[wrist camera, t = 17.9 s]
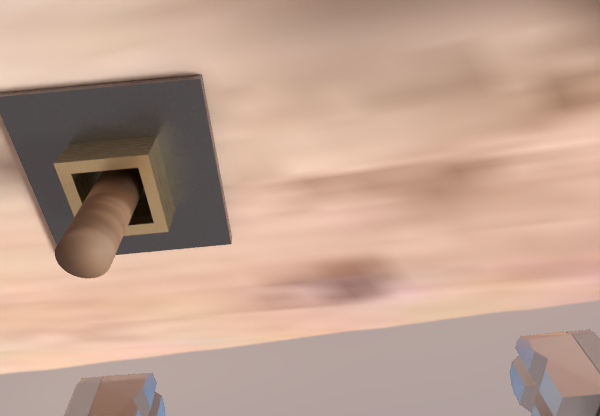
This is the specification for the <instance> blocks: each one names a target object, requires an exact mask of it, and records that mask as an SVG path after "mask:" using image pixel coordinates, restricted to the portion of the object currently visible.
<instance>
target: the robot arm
mask: <svg viewBox="0 0 600 416" xmlns="http://www.w3.org/2000/svg"><path fill="white" fill-rule="evenodd" d="M515 348H516V350H517V352H518V354H519V356H518V357H517V358H516V359H514V360H513V361H512V365H511V369H510V376H511V384H512V387H513V391H514V394H515V396H516V398H517V400H518V402H519V404H520V405H521V406H523V407H524V408H526V409H527V410H528V411H530V412H531V416H600V338H599V337H598V336H597V335H596V333H594V332H593V331H591V330H590V329H589V330H579V331H568V332H554V333H546V334H536V335H527V336H521V337H520V338H519V339H518V340H517V343H516V347H515ZM156 384H157V382H156V380H155V377H154V375H153V373H143V374H128V375H115V376H102V377H90V378H82V379H81V380H80V381H79V383H78V384H77V385H76V387H75V389H74V392H73V394H72V397H71V399H70V402H69V404H68V407H67V409H66V412H65V414H64V416H165V407H164V402H163V399H162V396H161V395H160V394H158V393H156V392H155V389H156Z"/></svg>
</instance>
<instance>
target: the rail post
mask: <svg viewBox="0 0 600 416" xmlns="http://www.w3.org/2000/svg"><path fill="white" fill-rule="evenodd" d="M143 189H144V186H143V183H142V179H141V176H140V172H139V169H138V168H129V169H118V170H107V171H102V173H101V174H100V176H99V178H98V179H97V181H96V183H95V184H94V186H93V187H92V189H91V191H90V192H89V194H88V196H87V197H86V199H85V201H84V202H83V204H82V205H81V207H80V209H79V210H78V212H77V214H76V215H75V217H74V219H73V220H72V222H71V224H70V225H69V227H68V228H67V230H66V232H65V233H64V235H63V237H62V238H61V240H60V242H59V243H58V245H57V247H56V249H55V257H56V260H57V262H58V264H59V265H60V266H61V267H62V268H63V269H64V270H65V271H66V272H68V273H70V274H72V275H74V276H77V277H81V278H96V277H99V276H101V275H103V274H105V273H106V272H107V271H108V270H109V268H110V266H111V264H112V261H113V259H114V257H115V254H116V252H117V250H118V247H119V245H120V243H121V240H122V238H123V236H124V233H125V231H126V229H127V226H128V224H129V222H130V219H131V217H132V215H133V212H134V210H135V208H136V205H137V203H138V201H139V198H140V196H141V194H142V191H143Z"/></svg>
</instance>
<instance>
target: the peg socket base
mask: <svg viewBox="0 0 600 416" xmlns="http://www.w3.org/2000/svg"><path fill="white" fill-rule="evenodd" d="M0 114H1V116H2V118H3V121H4V123H5V125H6V128H7V130H8V132H9V135H10V137H11V139H12V142H13V144H14V146H15V148H16V151H17V153H18V155H19V158H20V160H21V162H22V165H23V167H24V169H25V172H26V174H27V176H28V179H29V181H30V183H31V186H32V188H33V190H34V193H35V195H36V197H37V200H38V202H39V204H40V207H41V209H42V211H43V214H44V216H45V218H46V221H47V223H48V225H49V228H50V230H51V232H52V235H53V237H54V239H55V242H56V244H57V245H58V243H59V242H60V240H61V238H62V237H63V235H64V233H65V232H66V230H67V228H68V227H69V225H70V224H71V222H72V220H73V219H74V217H75V215H76V214H77V212H78V210H79V209H80V207H81V205H82V204H83V202H84V201H85V199H86V197H87V196H88V194H89V192H90V191H91V189H92V187H93V186H94V184H95V183H96V181H97V179H98V178H99V176H100V174H101V173H102V171H107V170H118V169H129V168H138V169H139V172H140V176H141V179H142V183H143V186H144V189H143V191H142V194H141V196H140V198H139V201H138V203H137V205H136V208H135V210H134V212H133V215H132V217H131V219H130V222H129V224H128V226H127V229H126V231H125V233H124V236H123V238H122V240H121V243H120V245H119V247H118V250H117V252H116V254H115V255H120V254H130V253H141V252H152V251H162V250H173V249H184V248H194V247H205V246H216V245H226V244H231V242H232V236H231V230H230V225H229V219H228V214H227V209H226V203H225V198H224V192H223V187H222V181H221V176H220V171H219V165H218V160H217V154H216V149H215V143H214V138H213V133H212V127H211V122H210V116H209V111H208V105H207V100H206V95H205V89H204V84H203V78H202V75H194V76H183V77H172V78H161V79H149V80H138V81H127V82H116V83H105V84H94V85H83V86H72V87H61V88H50V89H39V90H27V91H16V92H5V93H0Z"/></svg>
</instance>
